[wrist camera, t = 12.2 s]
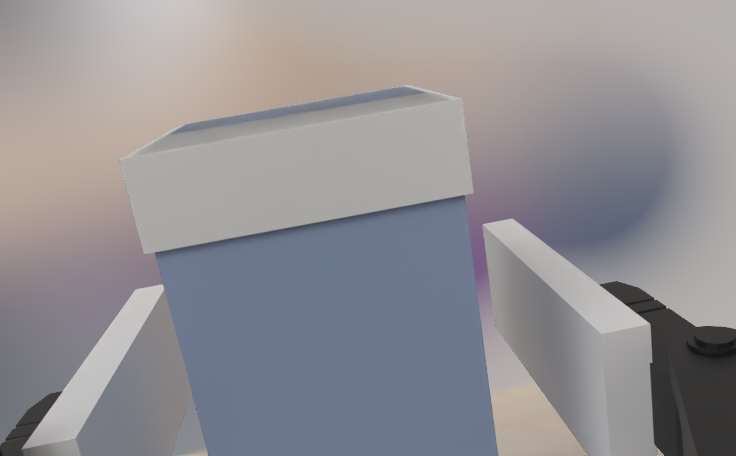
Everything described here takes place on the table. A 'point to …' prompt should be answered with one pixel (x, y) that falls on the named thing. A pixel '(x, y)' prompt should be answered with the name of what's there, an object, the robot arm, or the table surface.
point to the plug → (322, 276)
